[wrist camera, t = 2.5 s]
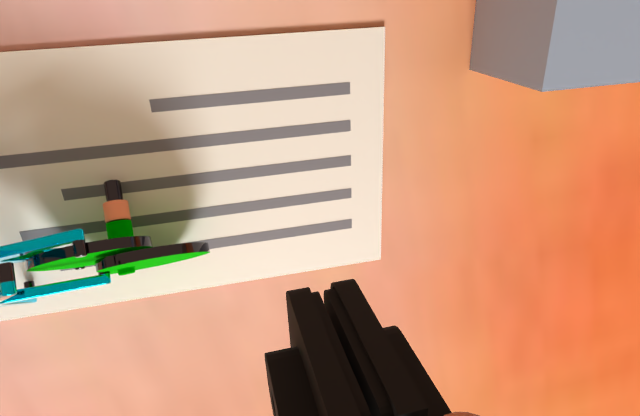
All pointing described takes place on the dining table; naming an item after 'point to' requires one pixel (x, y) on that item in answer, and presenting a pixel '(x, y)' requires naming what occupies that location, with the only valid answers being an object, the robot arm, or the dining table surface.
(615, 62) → the cube
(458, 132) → the dining table surface
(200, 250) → the stick construction toy
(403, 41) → the dining table surface
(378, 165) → the letter
